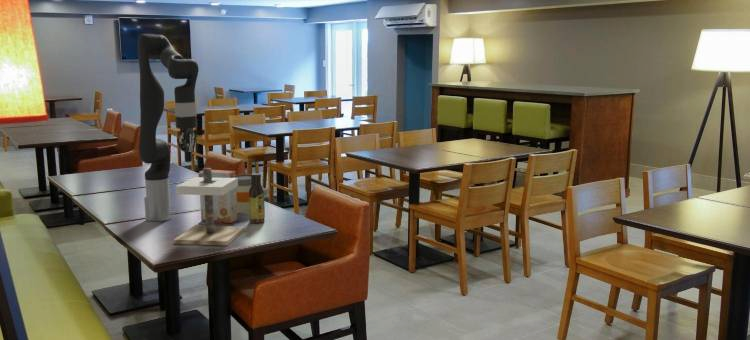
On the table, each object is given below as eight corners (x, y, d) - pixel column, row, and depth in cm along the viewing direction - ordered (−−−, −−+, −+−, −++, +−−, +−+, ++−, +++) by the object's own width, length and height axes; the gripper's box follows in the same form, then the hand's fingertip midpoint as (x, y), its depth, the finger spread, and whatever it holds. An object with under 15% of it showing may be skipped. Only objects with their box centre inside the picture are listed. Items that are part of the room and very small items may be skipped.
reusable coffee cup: (256, 214, 269) (255, 179, 266) (227, 214, 269) (225, 179, 267) (262, 207, 282) (261, 174, 279) (234, 207, 282) (233, 174, 279)
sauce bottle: (261, 224, 253) (259, 175, 249) (247, 223, 254) (245, 175, 251) (267, 220, 259) (265, 172, 256) (253, 219, 260) (251, 172, 257)
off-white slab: (176, 194, 225) (176, 186, 224) (195, 184, 241) (194, 177, 241) (222, 195, 223) (221, 187, 222) (238, 185, 240) (237, 177, 239)
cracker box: (238, 220, 259) (236, 170, 255) (230, 224, 253) (228, 173, 250) (209, 217, 264) (206, 168, 260) (200, 221, 258) (198, 171, 254)
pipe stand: (173, 243, 227) (169, 173, 222) (195, 228, 246) (191, 163, 242) (227, 245, 224) (223, 174, 220) (244, 230, 244) (242, 164, 239)
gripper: (183, 113, 235) (186, 158, 238) (168, 116, 222) (171, 164, 225) (202, 113, 234) (205, 159, 237) (188, 116, 221) (191, 165, 224)
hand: (188, 161), depth 231 cm, fingers closed
